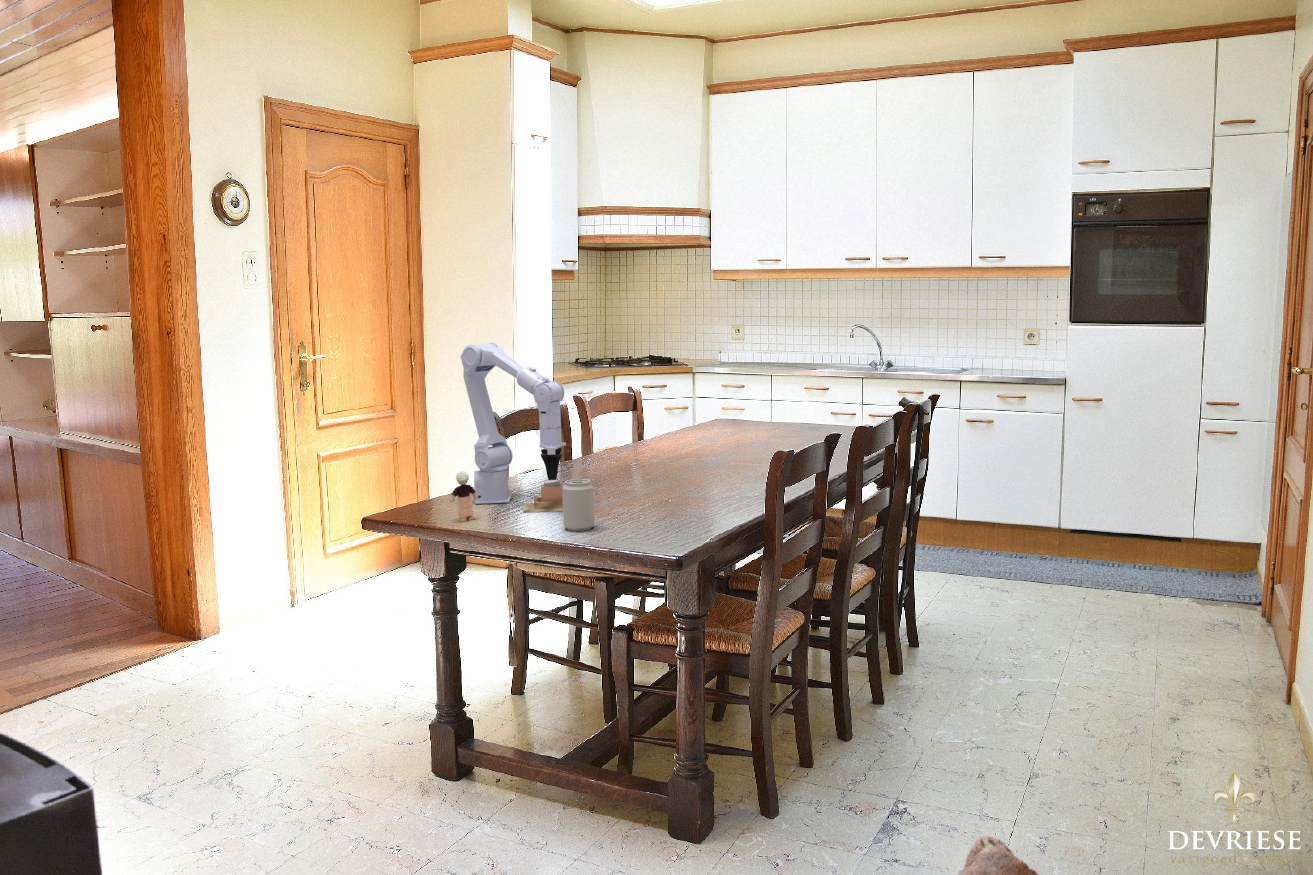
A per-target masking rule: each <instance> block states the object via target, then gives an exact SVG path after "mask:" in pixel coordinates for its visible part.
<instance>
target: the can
mask: <svg viewBox="0 0 1313 875" xmlns="http://www.w3.org/2000/svg"><path fill="white" fill-rule="evenodd" d="M562 492H563V511H562V514H563V515H562V517H563V526H564V528H565V529H566V530H568V531H572V532H583V531H589V530H591V529H592V527H594V525H595V509H594V508H595V504H594V501H595V500H594V486H593V485H592V484H591V480H590V479H586V478H571V479H567V480H565V481H564V484H563V488H562Z"/></svg>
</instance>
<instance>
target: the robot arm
mask: <svg viewBox="0 0 1313 875" xmlns="http://www.w3.org/2000/svg"><path fill="white" fill-rule="evenodd" d="M460 360H461V365H462V368H463V374H462V375H463V380H464V384H465V388H466V389H465V390H466V392H467V397H468V400H469V404H470V409H471V411H472V416H473V420H474V424H475V427H476V431H477V435H478V440H477V441H476V442H475V443H474V445H473V448H474V463H475V465H476V467H477V468H478V469H479V470H474V473H473V484H474V486H473V487H474V488H473V489H474V490H475V492H476V495H477V496H478V498H477V499H475V498H474V504H475V505H480V504H481V505H482V504H503V503H504V504H505V503H507V504H508V503H510V502H511V495H509V481H508V480H509V478H508V474H509V473H508V469H509V467H510V466H509V465H510V464H512V460H513V458H514V457H513V451H512V449H511V447H510V446H509V444H508V442H507V439H506V437H505V436H503V435H501V434H500V433H499V430H498V426H497V422H496V419H495V415H494V414H495V413H494V411H493V406H492V403H491V400H490V395H489V392H488V387H487V384H486V381H485V379H486V378H487V376H488V374H490V372H491V371H492V370H493V369H494V368H495V367H497V368H499V369H501V370H503V371H504V372H505V373H507V374H509V375H511V376H512V377H514V378H516V383H517V385H518V386H519V387H521V388H522V389H524V390H525V391H526V392H528V393H530V395H532V396H533V398H534V401H535V402H536V405H537V406H536V407H537V410H538V420H539V448H541V449H540V452H541V453H540V457H541V460H542V462H543V464H544V467H545V470H546V471H545V472H546V476H547V479H548V481H556V480H557V479H558V472H559V465H560V462H561V459H562V458H563V454H562V453H561V452H562V450H563V449H562V447H567V442H564V441H563V442H562V439H563V438H562V417H561V416H562V414H561V413H562V412H561V411H562V410H561V401H563V399H564V397H565V389H564V387H563V385H562V384H561V383H560V382H559V381H558V380H553V381H551V380H550V379H549V377H547V376H544V375H543V374H541V373H540V372H538V371H537V368H536V367H534V366H532V367H531V366H527V367H526V366H525V367H524V366H522V365H521V364H520V363H518V362H517V361H516V360H515V359H513V358H512V357H511V356H510V355H508V353H506V352H505V351H504V349H503V347H501V346H499V345H498V344H496V342H489V343H482V344H468V345H466V346H465V347H464V349H463V350H462V353H461V355H460Z"/></svg>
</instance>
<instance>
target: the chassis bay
mask: <svg viewBox="0 0 1313 875" xmlns="http://www.w3.org/2000/svg"><path fill="white" fill-rule="evenodd" d="M522 511H523V512H522V513H524V514H525V513H546V512H563V501H548V502H541V496H533V502H532V503H523V510H522Z"/></svg>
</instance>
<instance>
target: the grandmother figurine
mask: <svg viewBox="0 0 1313 875" xmlns="http://www.w3.org/2000/svg"><path fill="white" fill-rule="evenodd" d="M455 480H456V481H457V483H458V485H459V486H457V487H455V488H454V489H453V491H452V492H451V496H450V499H449V500H450V502H451V503H453V502H455V499H456V497H457V506H458V513H457V514H458V518H457V522H467V521H472V520H475V518H474V513H473V510H474V509H473V504H472V500H471V496H470V495H472V496H473V498H474V500H475V499H477V498H478V496H477V495H476V492H475V488H473V486H472V485H471V484H467V483H468V481H469V480H470V476H469V474H468V473H467V472H466V471H459V472H458V473H457V474H456V475H455Z"/></svg>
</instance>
